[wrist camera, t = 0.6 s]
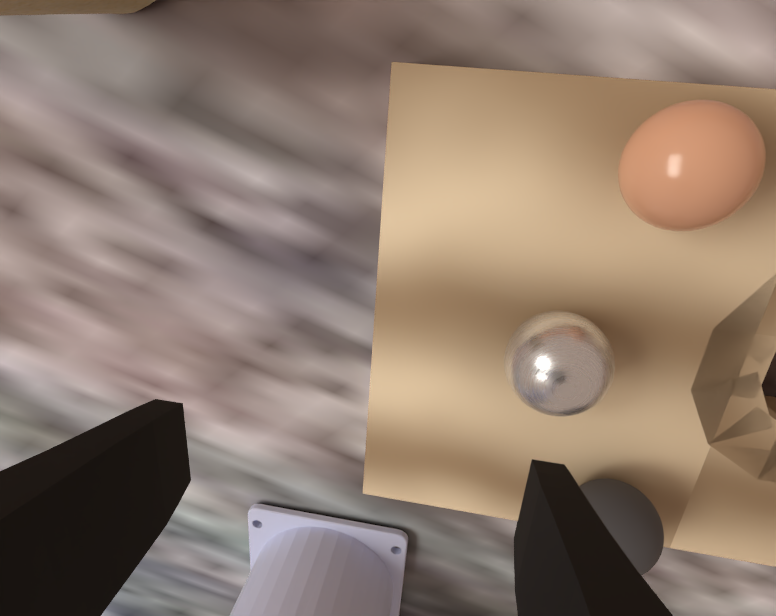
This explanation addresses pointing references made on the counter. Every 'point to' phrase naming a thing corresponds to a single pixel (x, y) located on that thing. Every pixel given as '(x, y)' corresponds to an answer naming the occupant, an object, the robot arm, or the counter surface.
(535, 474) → the robot arm
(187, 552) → the counter surface
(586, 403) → the steel ball
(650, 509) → the black rubber ball
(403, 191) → the board
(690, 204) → the terracotta ball
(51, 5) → the flower pot
